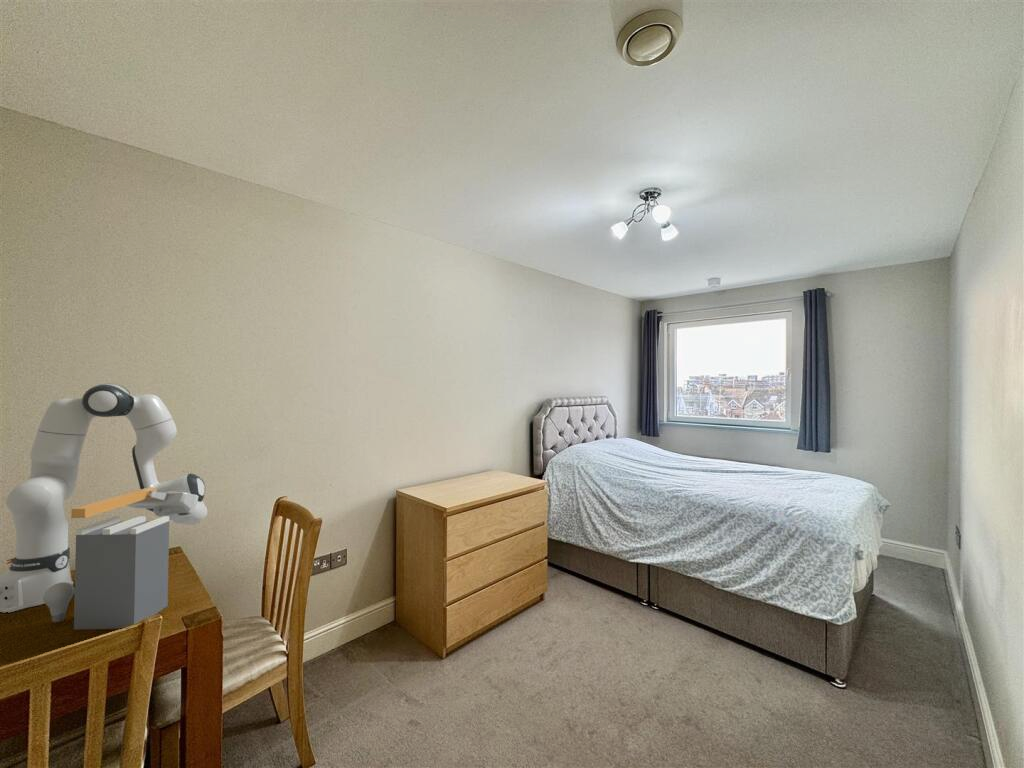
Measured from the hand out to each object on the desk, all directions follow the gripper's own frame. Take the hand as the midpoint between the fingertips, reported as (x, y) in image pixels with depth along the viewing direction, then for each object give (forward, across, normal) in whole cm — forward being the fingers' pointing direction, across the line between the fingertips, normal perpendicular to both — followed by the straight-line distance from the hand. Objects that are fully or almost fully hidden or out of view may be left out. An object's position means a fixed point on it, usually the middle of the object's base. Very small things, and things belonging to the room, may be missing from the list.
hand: (141, 493), depth 132 cm
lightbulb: (-6, -12, +35) cm, 38 cm away
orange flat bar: (+6, 0, +6) cm, 8 cm away
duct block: (-8, +4, +34) cm, 35 cm away
